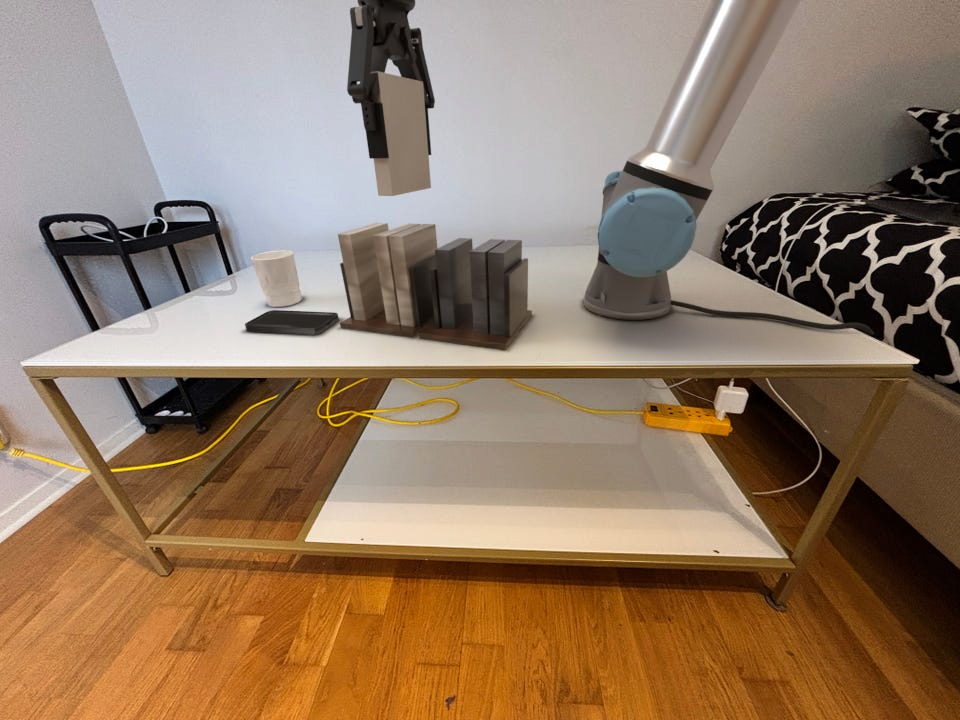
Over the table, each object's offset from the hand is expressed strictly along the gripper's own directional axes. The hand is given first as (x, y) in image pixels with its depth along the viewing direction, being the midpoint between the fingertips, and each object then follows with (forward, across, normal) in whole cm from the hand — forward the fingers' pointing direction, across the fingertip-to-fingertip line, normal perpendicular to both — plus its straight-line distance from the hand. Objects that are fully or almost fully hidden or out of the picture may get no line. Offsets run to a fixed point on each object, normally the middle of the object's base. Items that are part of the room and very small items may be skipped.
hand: (402, 156), depth 63 cm
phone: (+27, +9, -22) cm, 36 cm away
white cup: (+27, -1, -34) cm, 43 cm away
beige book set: (+27, 0, -4) cm, 27 cm away
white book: (+5, 0, 0) cm, 5 cm away
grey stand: (+27, 0, +12) cm, 29 cm away
